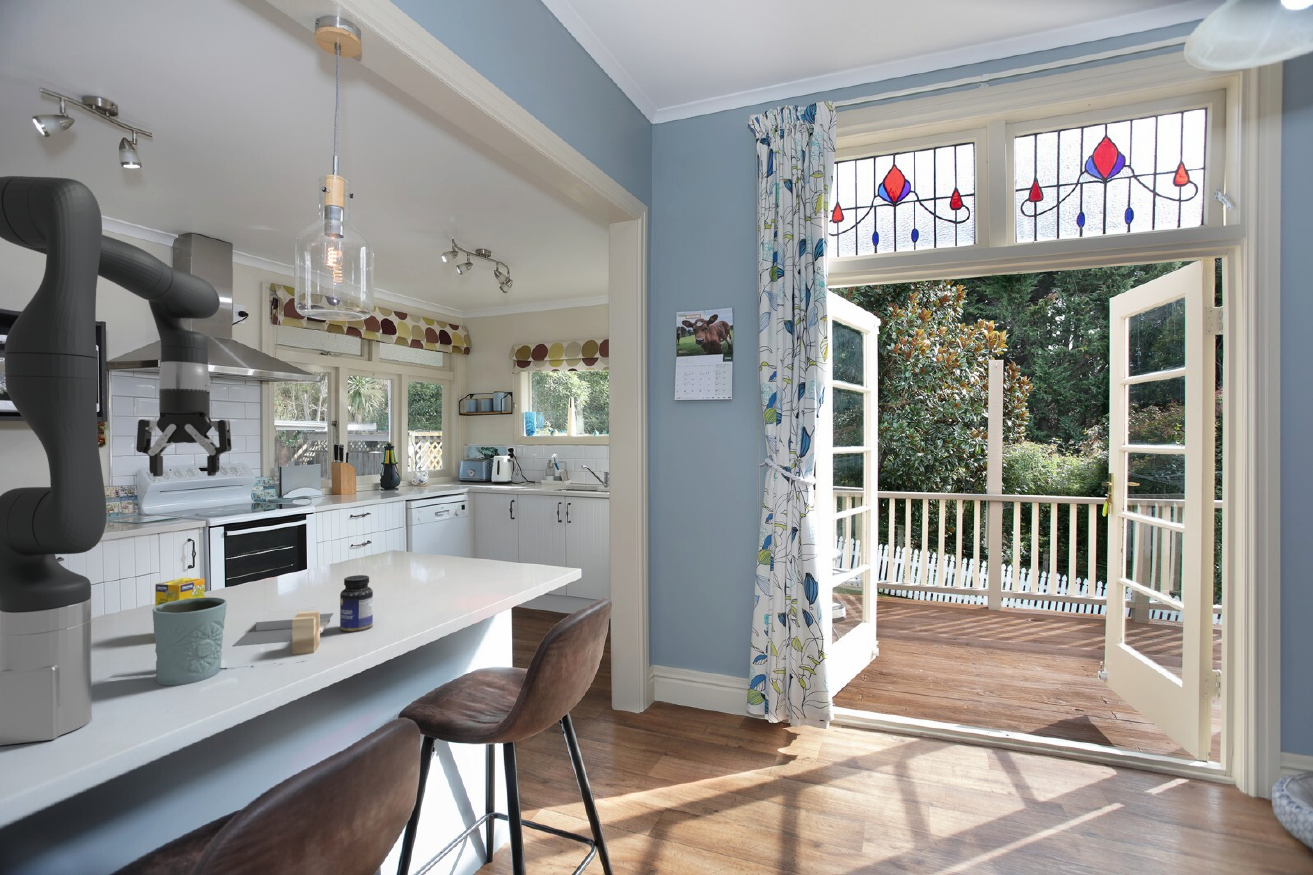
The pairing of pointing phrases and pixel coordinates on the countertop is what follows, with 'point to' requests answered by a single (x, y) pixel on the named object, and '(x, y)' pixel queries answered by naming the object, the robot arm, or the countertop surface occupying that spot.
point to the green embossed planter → (188, 639)
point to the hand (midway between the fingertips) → (185, 476)
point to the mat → (269, 635)
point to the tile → (279, 619)
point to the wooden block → (307, 632)
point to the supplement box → (179, 590)
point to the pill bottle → (356, 605)
